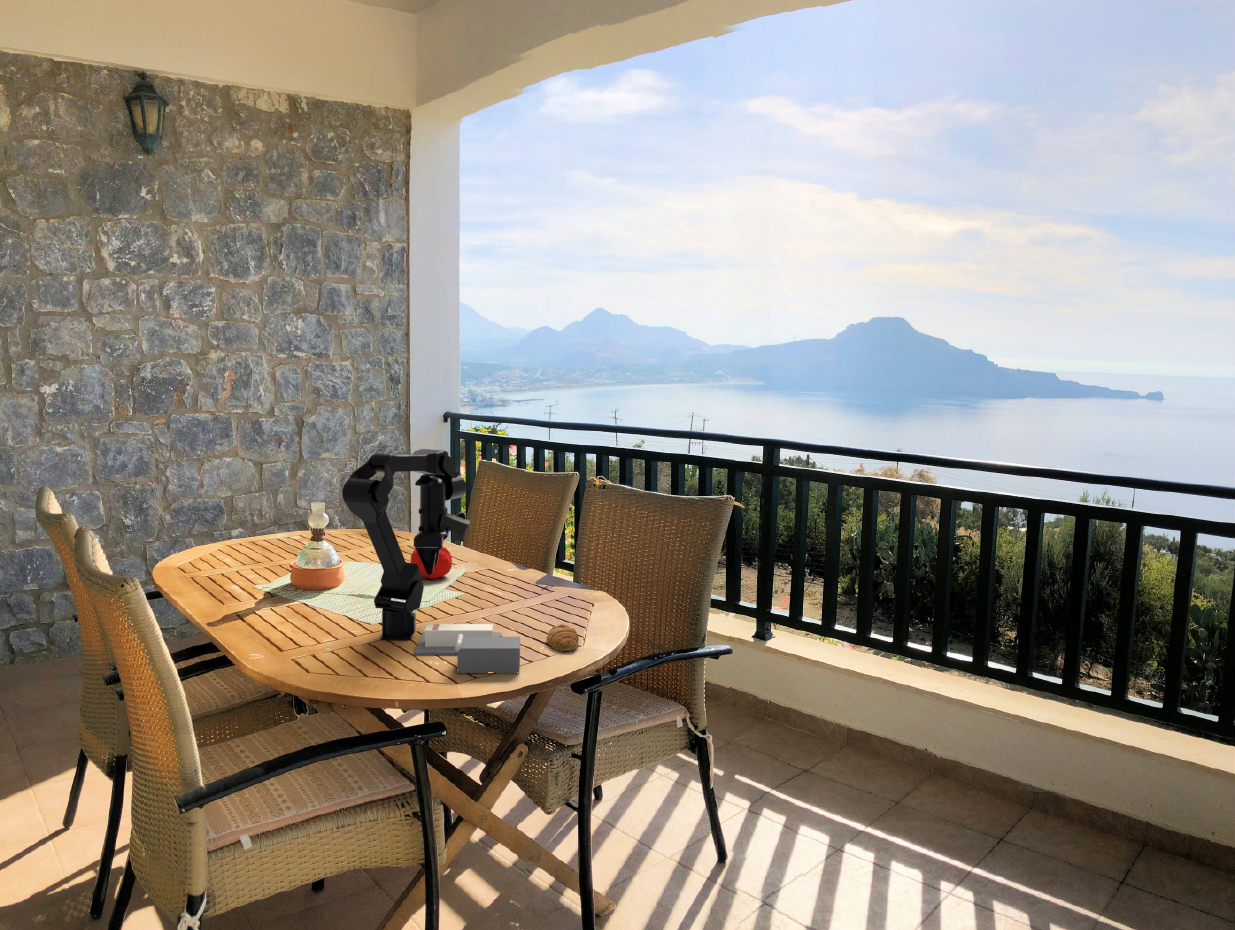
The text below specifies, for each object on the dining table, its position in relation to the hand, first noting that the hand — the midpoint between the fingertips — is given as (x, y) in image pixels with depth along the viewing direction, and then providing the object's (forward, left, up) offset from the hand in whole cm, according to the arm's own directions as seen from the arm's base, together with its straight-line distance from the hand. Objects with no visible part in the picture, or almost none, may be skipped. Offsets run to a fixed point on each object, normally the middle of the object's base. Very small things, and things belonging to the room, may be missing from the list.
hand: (432, 569), depth 200 cm
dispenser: (+15, -32, -12) cm, 37 cm away
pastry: (+30, -18, -12) cm, 37 cm away
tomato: (-5, +41, -12) cm, 43 cm away
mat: (+8, -18, -12) cm, 23 cm away
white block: (+8, -19, -11) cm, 23 cm away
